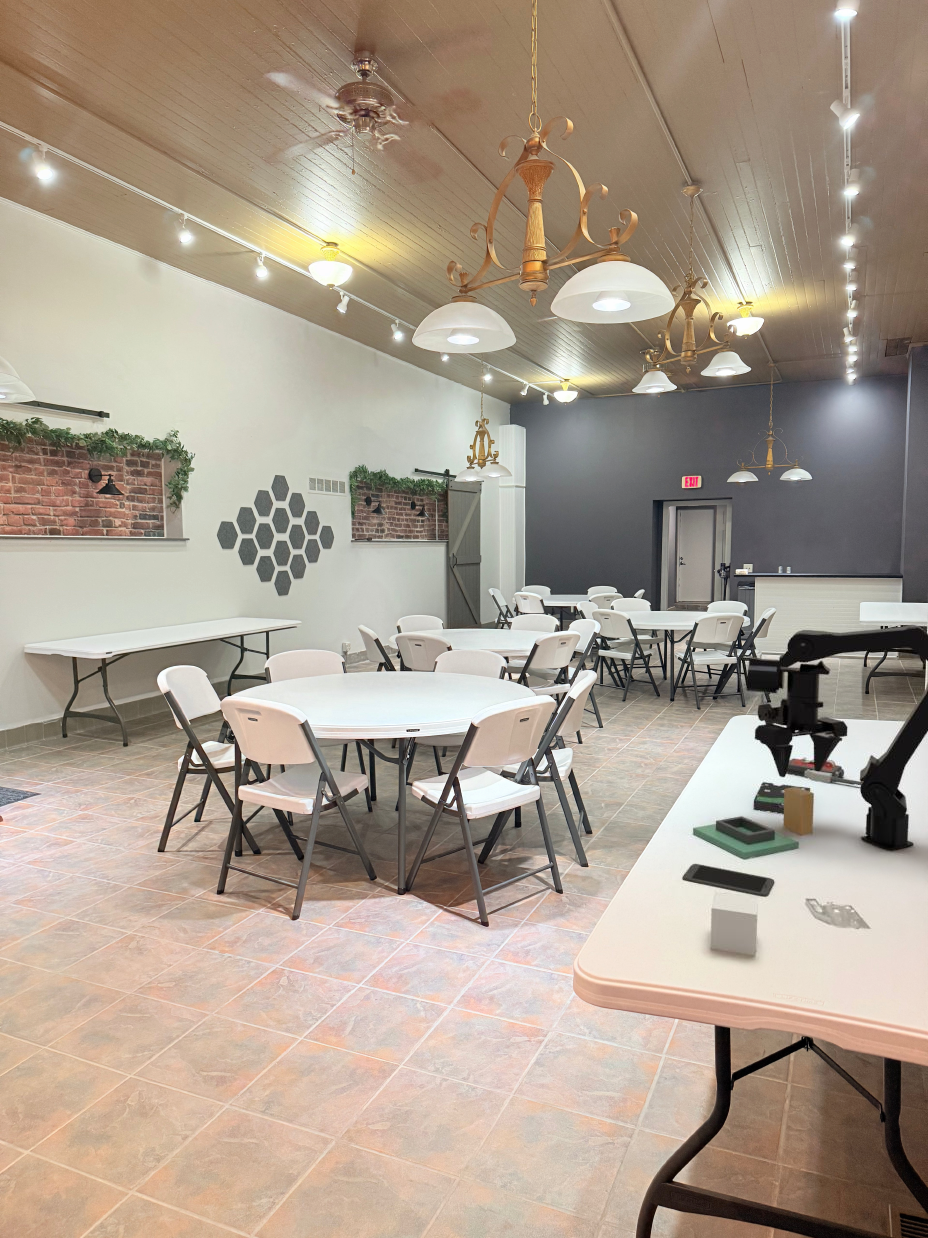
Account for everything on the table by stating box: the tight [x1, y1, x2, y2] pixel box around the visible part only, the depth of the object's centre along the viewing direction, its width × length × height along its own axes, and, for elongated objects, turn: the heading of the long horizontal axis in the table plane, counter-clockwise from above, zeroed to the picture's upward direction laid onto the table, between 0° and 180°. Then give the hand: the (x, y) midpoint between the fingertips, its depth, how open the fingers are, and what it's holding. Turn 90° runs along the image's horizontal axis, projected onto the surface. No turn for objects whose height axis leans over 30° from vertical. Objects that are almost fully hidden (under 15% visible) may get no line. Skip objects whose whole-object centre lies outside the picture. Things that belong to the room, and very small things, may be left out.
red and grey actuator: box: [786, 757, 861, 786], centre depth 196 cm, size 9×4×20 cm
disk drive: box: [753, 781, 811, 815], centre depth 177 cm, size 10×3×15 cm
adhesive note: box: [710, 890, 759, 957], centre depth 116 cm, size 6×6×6 cm
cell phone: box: [682, 863, 775, 898], centre depth 137 cm, size 7×14×1 cm, turn 59°
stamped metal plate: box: [805, 897, 871, 930], centre depth 124 cm, size 8×7×2 cm
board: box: [692, 815, 800, 860], centre depth 155 cm, size 14×13×3 cm
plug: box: [782, 786, 815, 836], centre depth 160 cm, size 5×3×8 cm, turn 24°
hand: (799, 774), depth 159 cm, fingers open, 9 cm apart
